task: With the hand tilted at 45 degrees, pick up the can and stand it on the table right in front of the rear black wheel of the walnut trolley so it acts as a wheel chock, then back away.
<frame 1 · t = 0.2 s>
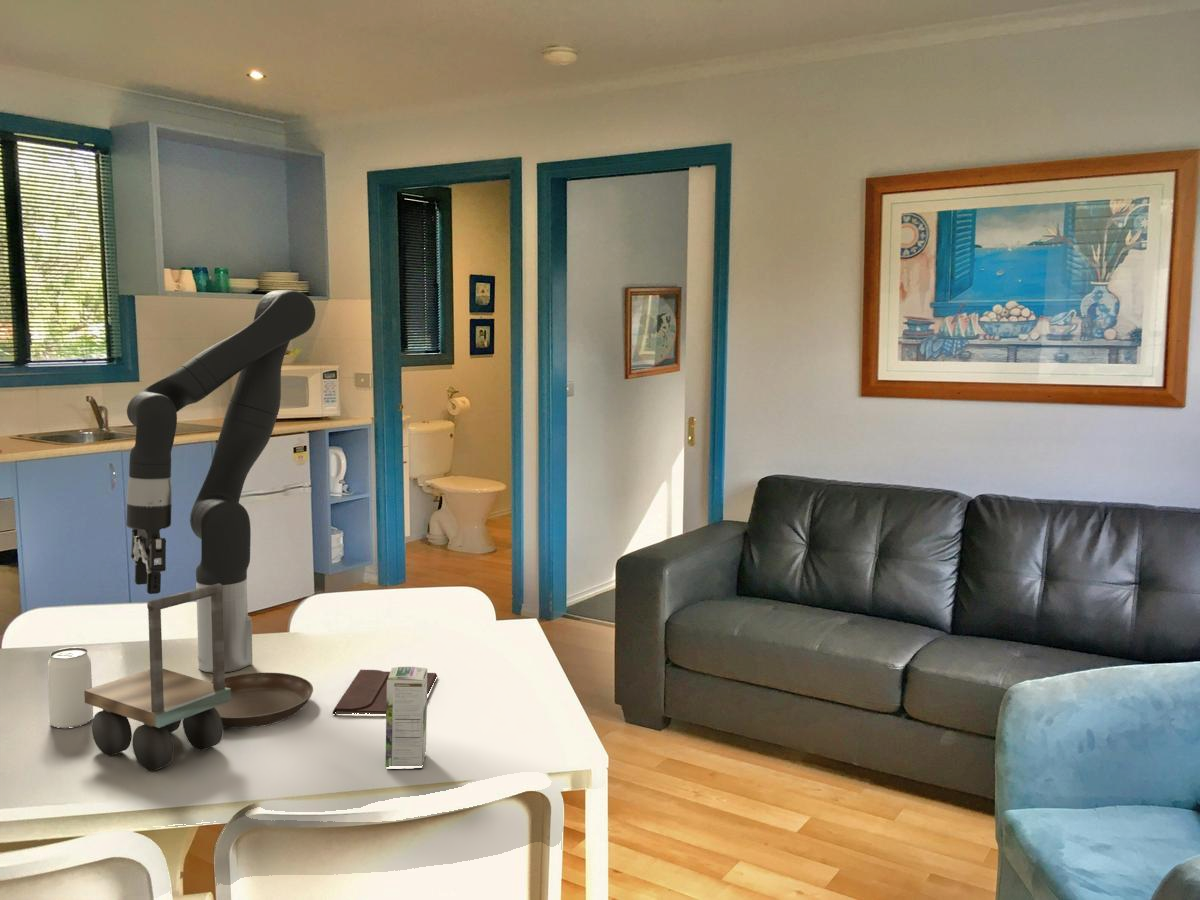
hand: (147, 588, 190), 18 cm above the table, tool pointing down, fingers open, 8 cm apart
syrup box: (406, 763, 160), on the table
trolley: (158, 750, 162), on the table
notebook: (387, 699, 188), on the table
can: (71, 723, 173), on the table
plant saucer: (251, 712, 180), on the table
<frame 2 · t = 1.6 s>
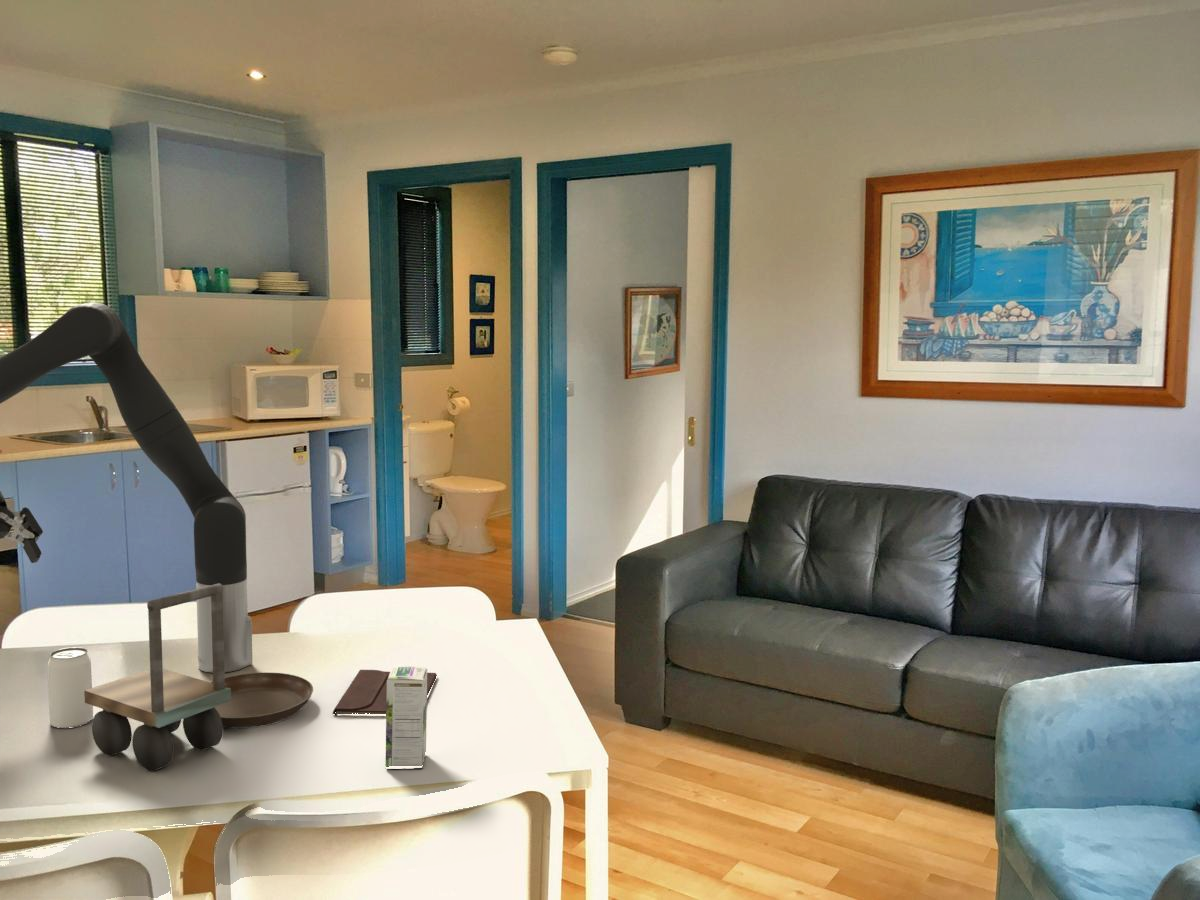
hand: (12, 564, 175), 25 cm above the table, tool tilted 45°, fingers open, 8 cm apart
nothing on the table moved.
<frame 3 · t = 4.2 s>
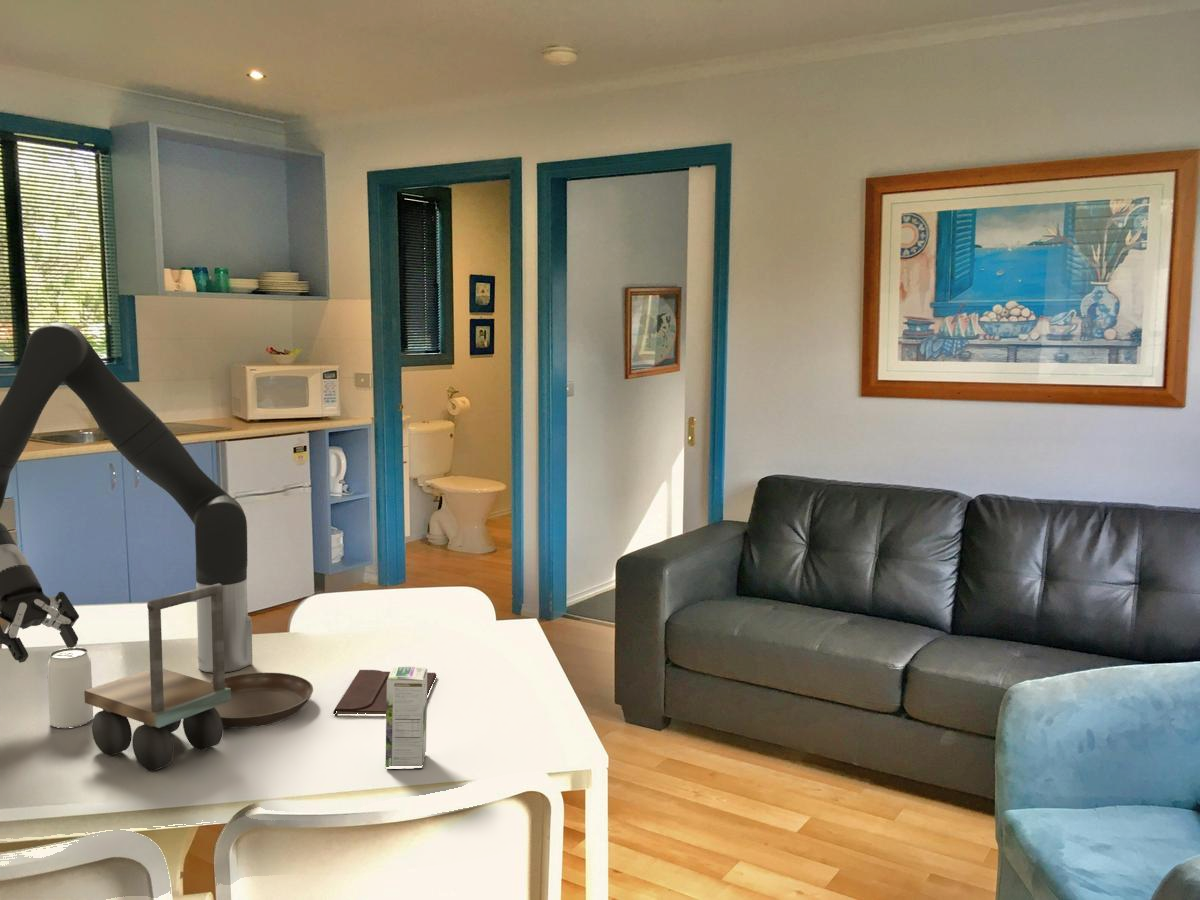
hand: (49, 652, 174), 11 cm above the table, tool tilted 45°, fingers open, 8 cm apart
nothing on the table moved.
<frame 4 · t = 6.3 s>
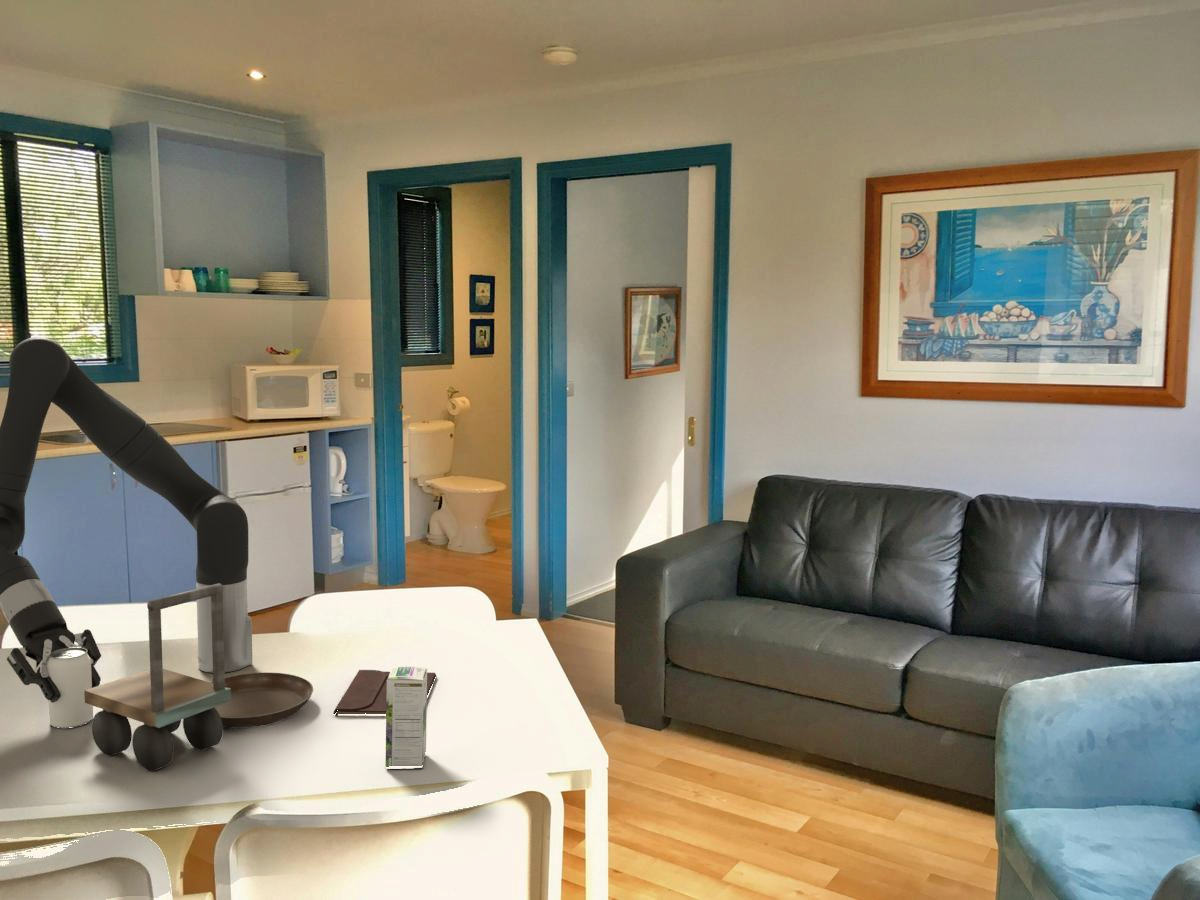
hand: (76, 692, 171), 5 cm above the table, tool tilted 45°, fingers closed on can, 6 cm apart
can: (71, 723, 173), on the table, touching gripper
everything else where it was.
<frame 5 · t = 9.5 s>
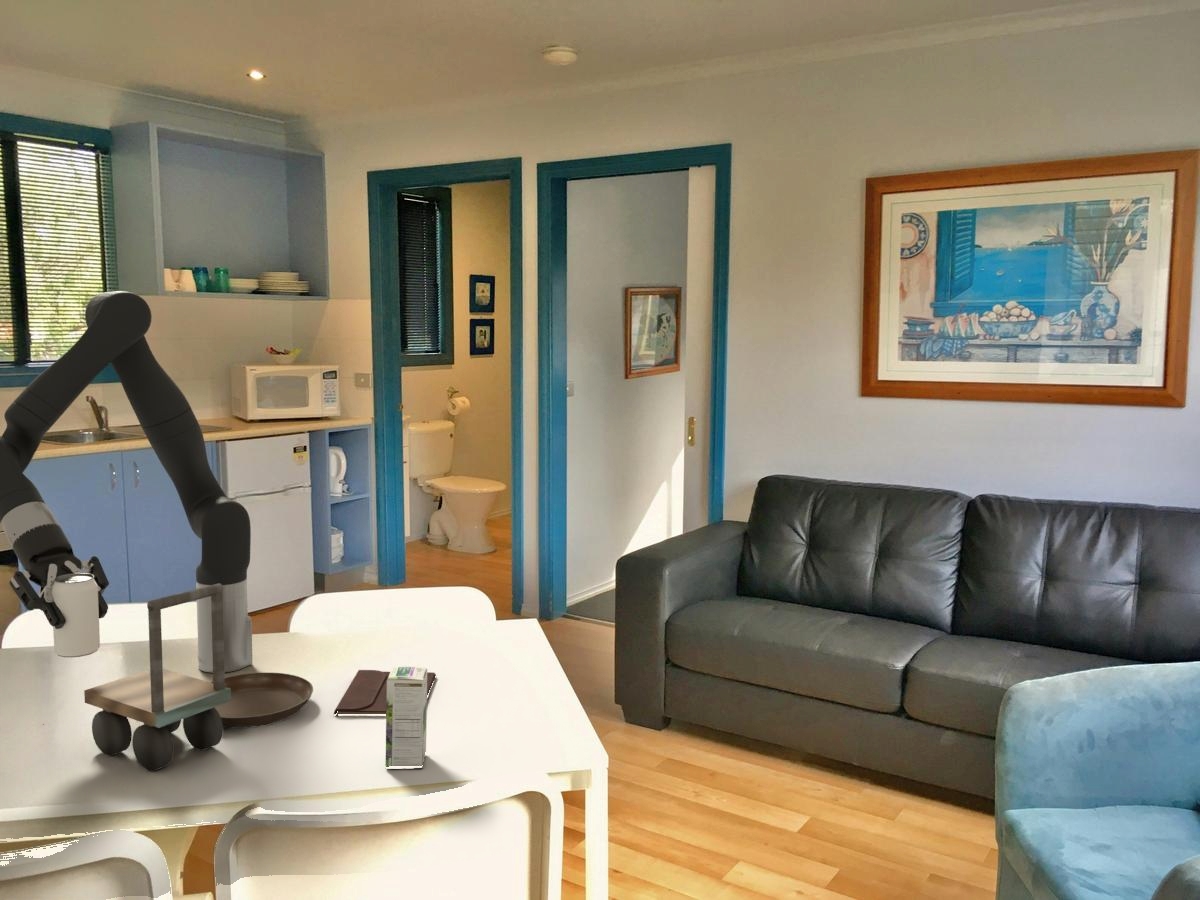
hand: (82, 620, 162), 20 cm above the table, tool tilted 45°, fingers closed on can, 6 cm apart
can: (77, 652, 163), point 15 cm above the table, touching gripper
everything else where it was.
when the fingers open (7 cm above the table, at t = 12.8 s): can drops 1 cm, on the table.
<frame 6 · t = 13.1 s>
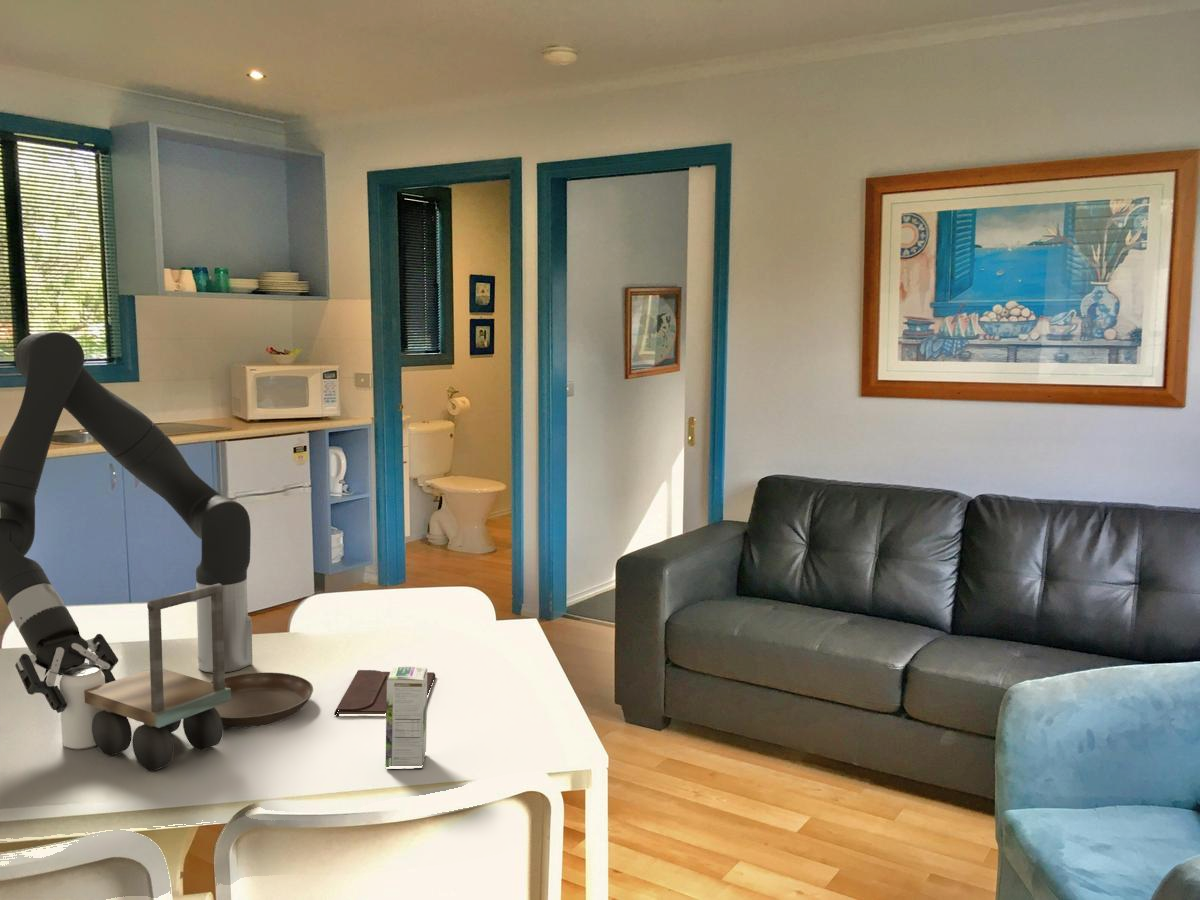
hand: (88, 701, 163), 7 cm above the table, tool tilted 45°, fingers open, 8 cm apart
can: (85, 743, 165), on the table
everything else where it was.
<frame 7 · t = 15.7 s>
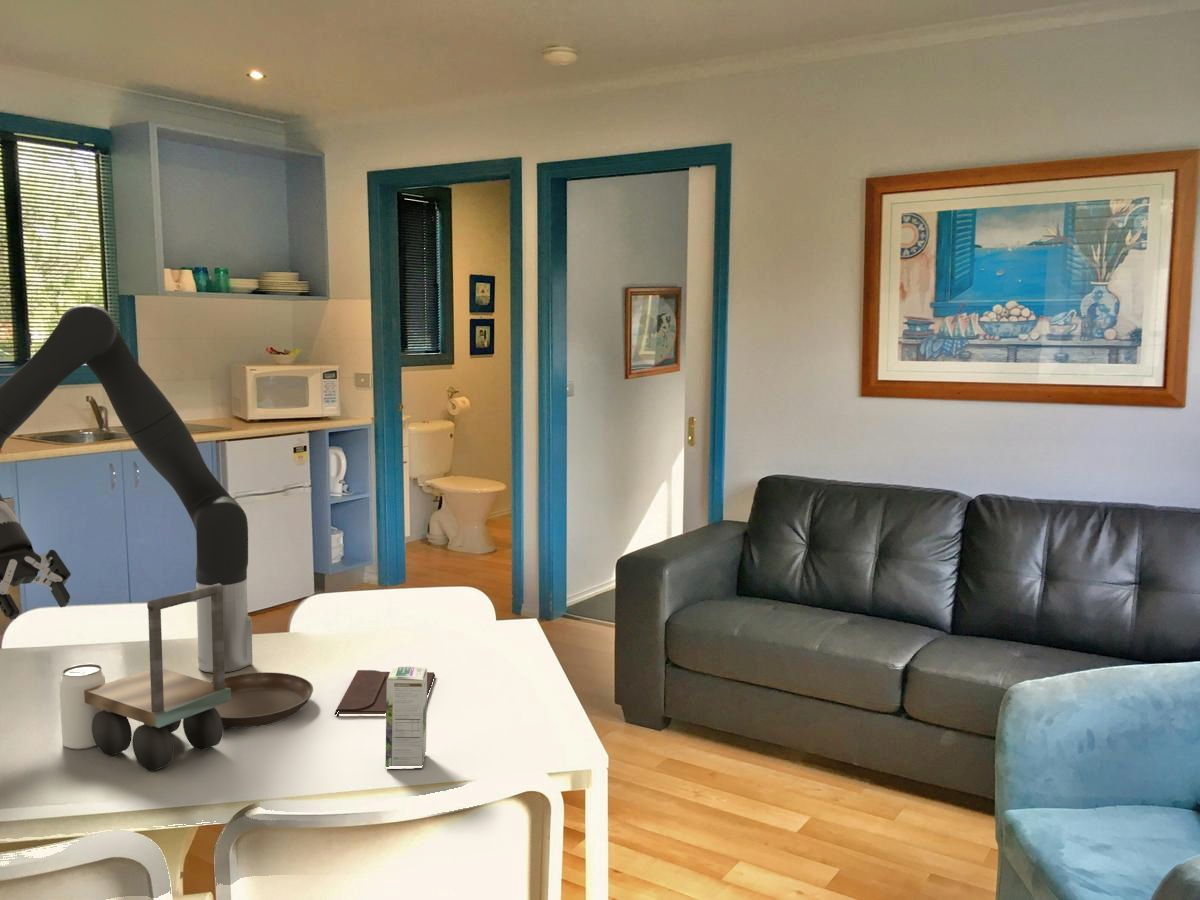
hand: (41, 610, 170), 19 cm above the table, tool tilted 45°, fingers open, 8 cm apart
nothing on the table moved.
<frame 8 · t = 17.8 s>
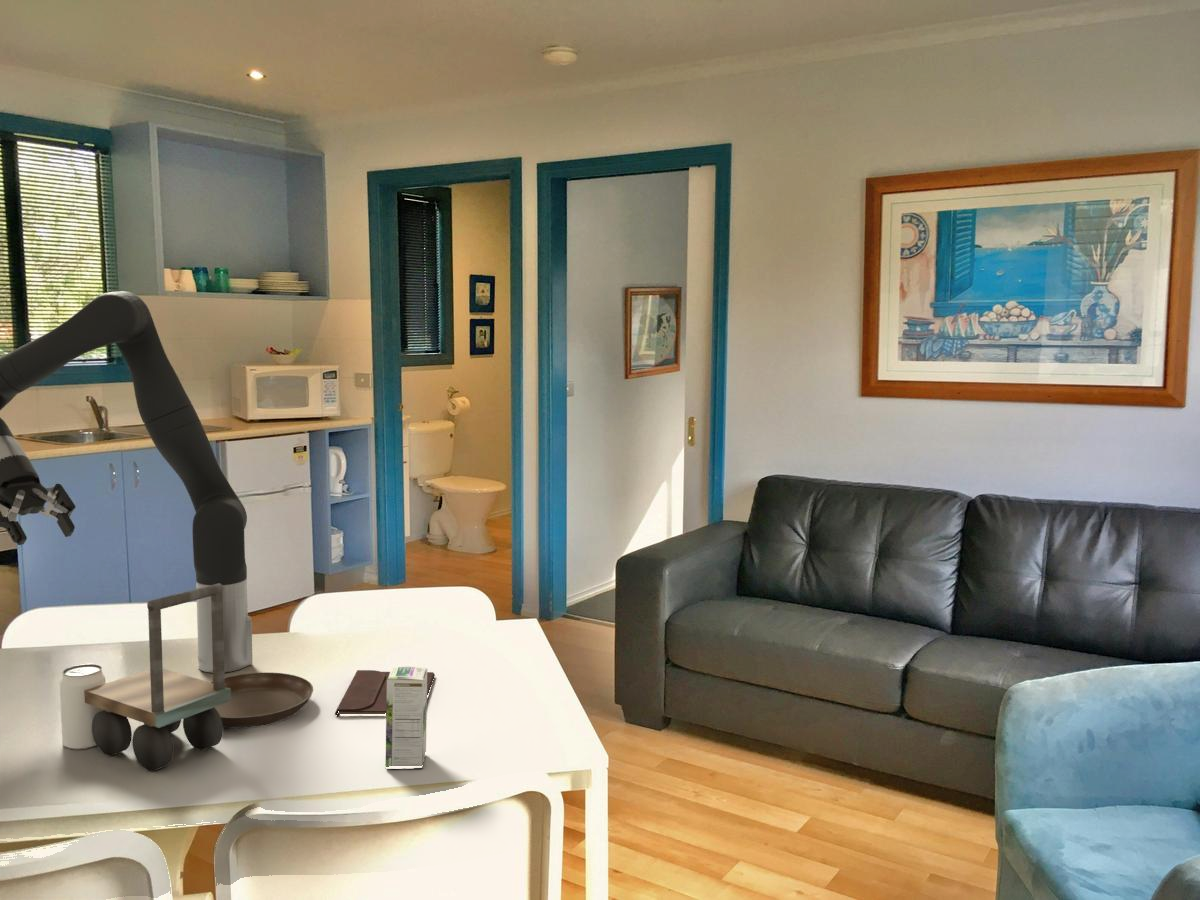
hand: (47, 538, 181), 29 cm above the table, tool tilted 45°, fingers open, 8 cm apart
nothing on the table moved.
at the end: can 0.2 cm from the target spot, on the table; can tilted 0°; the gripper is holding nothing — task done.
